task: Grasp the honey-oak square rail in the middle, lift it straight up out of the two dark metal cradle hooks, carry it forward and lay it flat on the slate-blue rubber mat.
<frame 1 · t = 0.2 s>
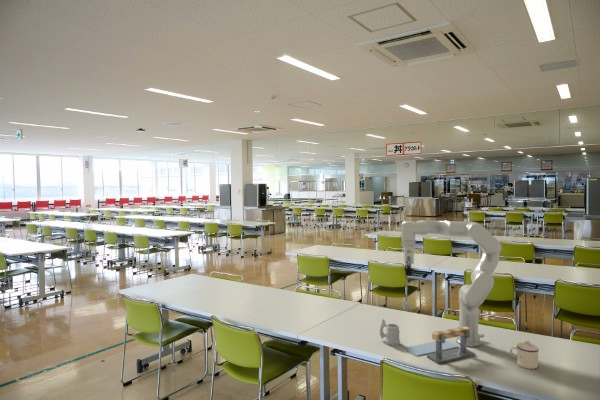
hand: (408, 273, 216), 37 cm above the table, tool pointing down, fingers open, 9 cm apart
slate mat: (431, 348, 204), on the table
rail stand: (451, 356, 193), on the table
mug: (389, 342, 211), on the table
oak rail: (451, 333, 193), point 12 cm above the table, touching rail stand
teacup with lid: (523, 364, 185), on the table
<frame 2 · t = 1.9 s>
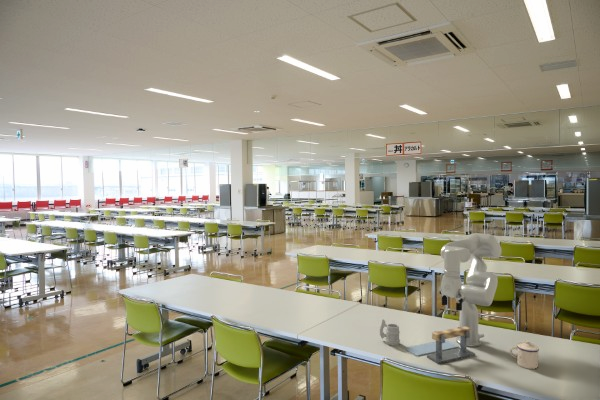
hand: (451, 307, 192), 25 cm above the table, tool pointing down, fingers open, 9 cm apart
nothing on the table moved.
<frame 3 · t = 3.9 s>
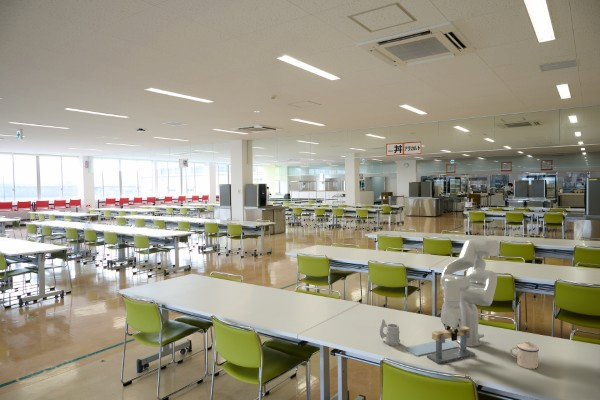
hand: (451, 338, 193), 9 cm above the table, tool pointing down, fingers closed on oak rail, 3 cm apart
oak rail: (451, 333, 193), point 12 cm above the table, touching gripper, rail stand
everything else where it was.
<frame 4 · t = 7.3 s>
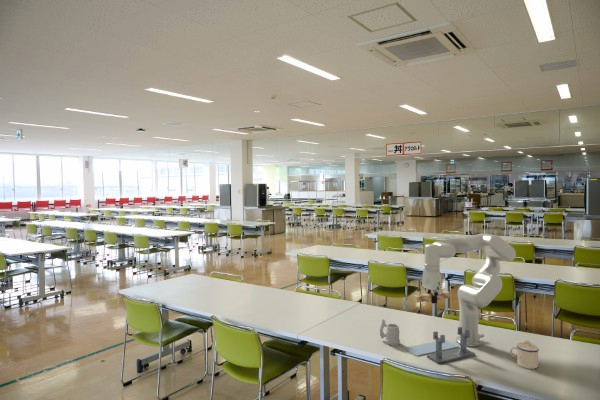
hand: (431, 301, 203), 25 cm above the table, tool pointing down, fingers closed on oak rail, 3 cm apart
oak rail: (431, 296, 203), point 28 cm above the table, touching gripper
everything else where it was.
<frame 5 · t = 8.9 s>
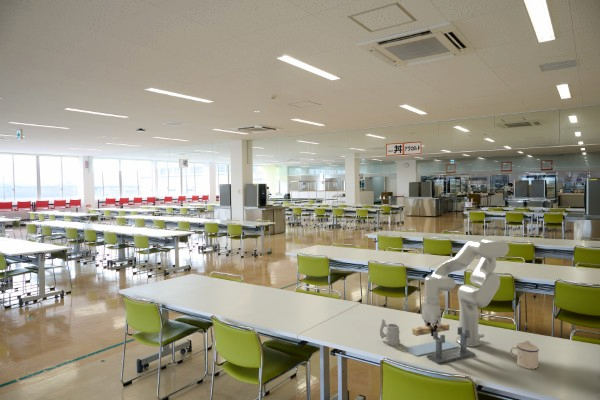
hand: (431, 334, 203), 7 cm above the table, tool pointing down, fingers closed on oak rail, 3 cm apart
oak rail: (431, 329, 203), point 10 cm above the table, touching gripper
everything else where it was.
when the fingers open (2 cm above the table, at t = 10.5 s): oak rail drops 2 cm, resting on slate mat.
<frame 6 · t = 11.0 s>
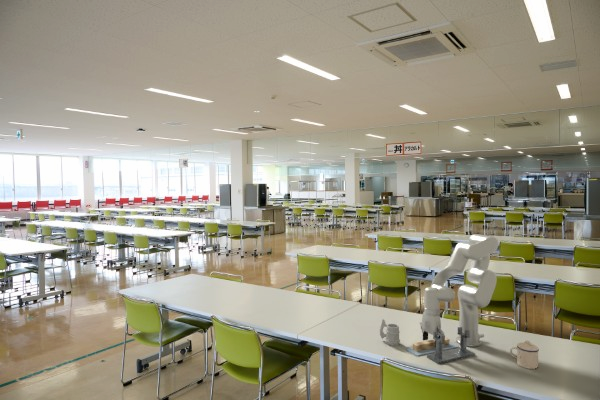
hand: (431, 343, 203), 3 cm above the table, tool pointing down, fingers open, 9 cm apart
oak rail: (431, 344, 204), point 2 cm above the table, touching slate mat
everything else where it was.
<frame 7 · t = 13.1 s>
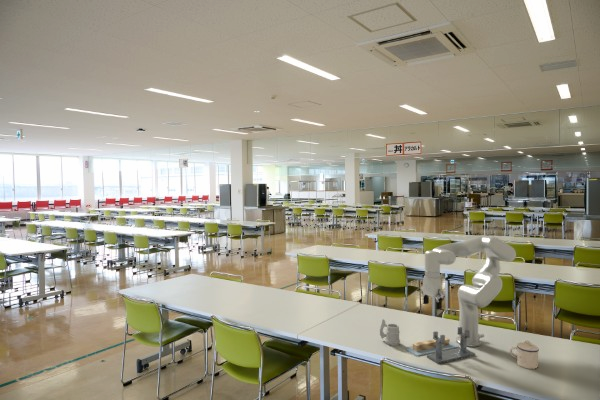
hand: (432, 306, 203), 22 cm above the table, tool pointing down, fingers open, 9 cm apart
nothing on the table moved.
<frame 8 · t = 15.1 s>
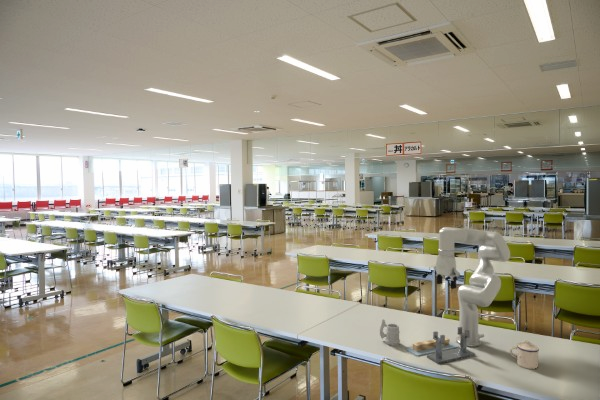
hand: (446, 285, 198), 34 cm above the table, tool pointing down, fingers open, 9 cm apart
nothing on the table moved.
at the end: oak rail inside the target area (0.1 cm from its centre), point 2.1 cm above the table; oak rail touching slate mat; the gripper is holding nothing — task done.
